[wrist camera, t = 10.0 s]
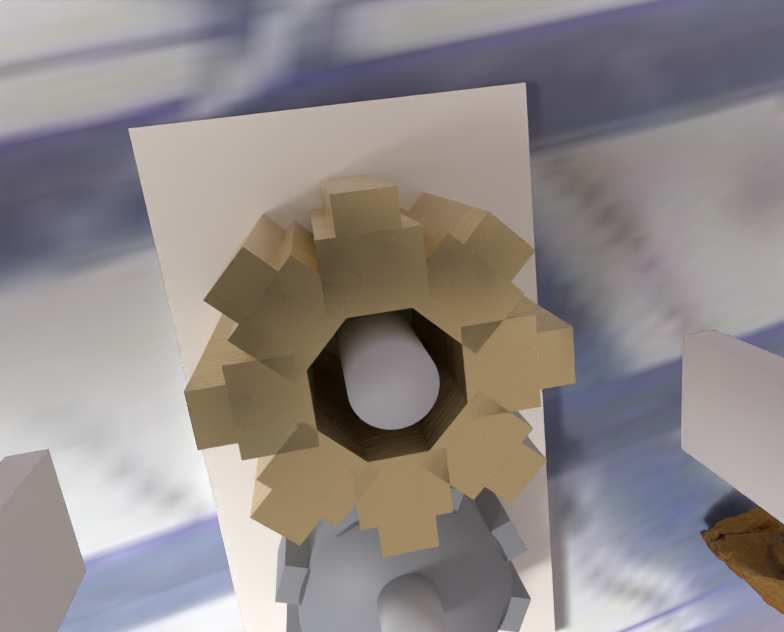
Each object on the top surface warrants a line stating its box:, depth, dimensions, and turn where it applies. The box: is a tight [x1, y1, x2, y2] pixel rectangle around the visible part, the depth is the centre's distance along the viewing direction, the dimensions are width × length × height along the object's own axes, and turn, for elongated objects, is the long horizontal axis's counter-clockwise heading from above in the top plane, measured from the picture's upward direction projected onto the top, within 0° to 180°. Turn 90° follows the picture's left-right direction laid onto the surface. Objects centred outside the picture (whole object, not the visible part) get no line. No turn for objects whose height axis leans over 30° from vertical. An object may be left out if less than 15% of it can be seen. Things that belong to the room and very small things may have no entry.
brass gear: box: [184, 175, 575, 558], centre depth 19 cm, size 10×10×8 cm
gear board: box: [128, 83, 555, 632], centre depth 21 cm, size 14×26×9 cm, turn 7°
